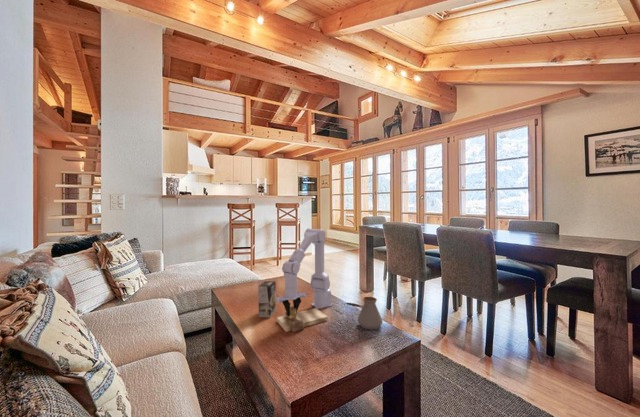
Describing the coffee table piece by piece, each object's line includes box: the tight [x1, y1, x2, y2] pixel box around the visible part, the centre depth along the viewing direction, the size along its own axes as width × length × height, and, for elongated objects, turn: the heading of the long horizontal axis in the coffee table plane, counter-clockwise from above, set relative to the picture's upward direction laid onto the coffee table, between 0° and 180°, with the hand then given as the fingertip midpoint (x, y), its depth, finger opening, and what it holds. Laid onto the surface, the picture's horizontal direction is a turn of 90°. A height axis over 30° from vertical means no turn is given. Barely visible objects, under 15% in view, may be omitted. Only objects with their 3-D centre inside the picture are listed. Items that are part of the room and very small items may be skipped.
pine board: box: [276, 307, 329, 333], centre depth 132 cm, size 22×12×2 cm, turn 119°
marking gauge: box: [284, 305, 304, 333], centre depth 128 cm, size 5×13×8 cm, turn 29°
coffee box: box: [257, 280, 277, 319], centre depth 141 cm, size 9×6×16 cm
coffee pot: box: [343, 296, 383, 331], centre depth 123 cm, size 21×12×15 cm, turn 129°
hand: (291, 314), depth 128 cm, fingers closed on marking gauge, 3 cm apart
